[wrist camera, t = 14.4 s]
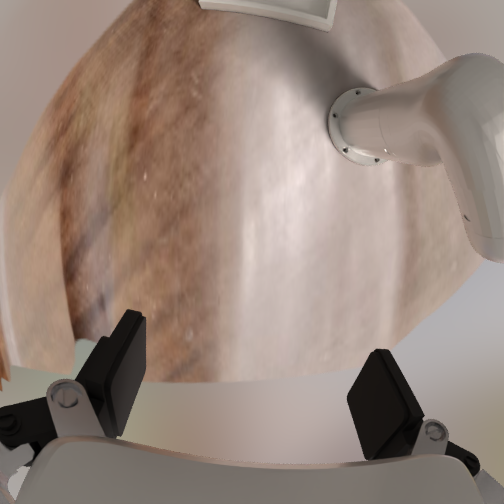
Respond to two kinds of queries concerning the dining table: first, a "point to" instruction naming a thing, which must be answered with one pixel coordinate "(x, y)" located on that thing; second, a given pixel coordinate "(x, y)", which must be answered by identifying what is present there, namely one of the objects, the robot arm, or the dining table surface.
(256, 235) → the dining table surface
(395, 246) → the dining table surface
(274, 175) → the dining table surface
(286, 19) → the tray
